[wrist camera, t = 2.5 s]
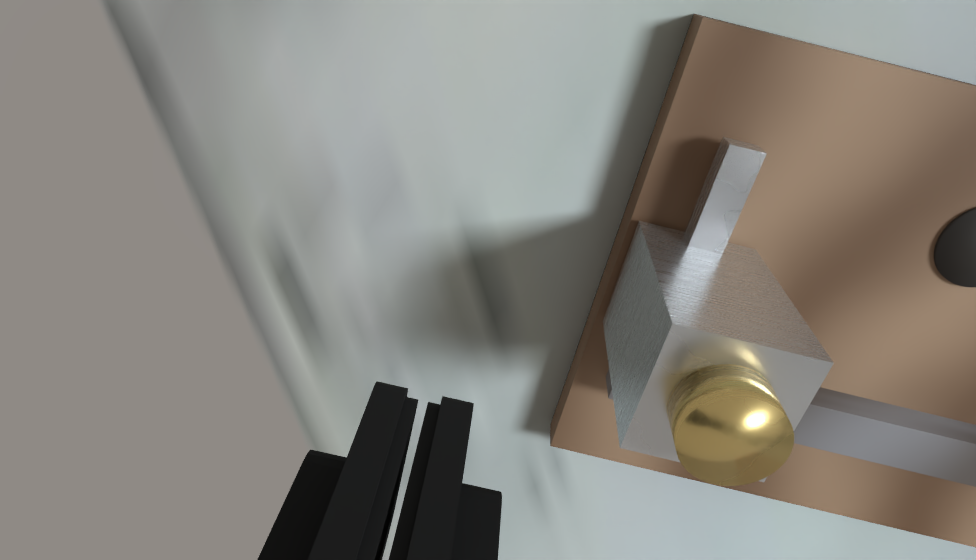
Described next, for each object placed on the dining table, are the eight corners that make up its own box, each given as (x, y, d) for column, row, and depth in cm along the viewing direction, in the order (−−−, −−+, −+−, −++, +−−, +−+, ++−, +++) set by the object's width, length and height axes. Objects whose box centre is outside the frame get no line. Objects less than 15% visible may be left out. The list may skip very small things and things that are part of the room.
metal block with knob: (800, 153, 18) (939, 265, 11) (709, 347, 21) (779, 521, 14) (674, 122, 18) (743, 217, 11) (602, 320, 21) (624, 484, 14)
